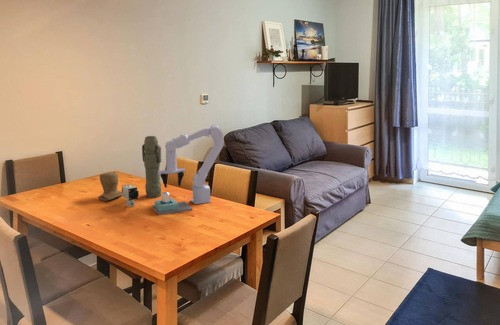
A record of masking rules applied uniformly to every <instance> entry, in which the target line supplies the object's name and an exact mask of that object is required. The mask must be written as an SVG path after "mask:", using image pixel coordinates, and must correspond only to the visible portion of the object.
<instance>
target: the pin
mask: <svg viewBox="0 0 500 325" xmlns="http://www.w3.org/2000/svg"><path fill="white" fill-rule="evenodd" d="M170 199H171V194H170V192H169V191H164V192H161V200H162V204H170Z"/></svg>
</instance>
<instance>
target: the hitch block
mask: <svg viewBox="0 0 500 325" xmlns="http://www.w3.org/2000/svg"><path fill="white" fill-rule="evenodd" d="M151 207H152V208H153V210H154V211H155V213H156V214H157V216H160V215H169V214H176V213H184V212H190V211H193V207H191V206H190V205H189V203H188V202H186V201H185V200H183V201H176V200H175V199H174V198H170V204H162V199H158V200H154V204H152V206H151Z"/></svg>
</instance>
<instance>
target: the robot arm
mask: <svg viewBox="0 0 500 325" xmlns="http://www.w3.org/2000/svg"><path fill="white" fill-rule="evenodd" d="M201 137H208V138H209V137H211V139H212V140H213V142H214V144H213V146H212V148H210V151H209V152H208V155H207V156H206V158H205V160H204V162H203V163H202V165H201V167H200V168H199V169H198V171H197V172H196V173H194V174H193V176H192V180H193V182H192V183H193V184H192V198H191V199H190V201H191V202H192V203H193V204H194V205H198V204H207V203H211V202H212V201H211V188H210V185H209V184H207V185H206V179H207V176H208V174H209V171H210V170H211V168H212V167H213V165H214V163H215V161H216V159H217V158H218V156H219V154H220V153H221V151H222V149H223V147H224V146H225V145H224V144H225V143H224V134H223V131H222V129H221V128H220V125H217V124H213V125H209V126H206V127H203V128H202V129H199V130H197V131H195V132H193V133H191V134H186V133H185V134H184V133H182V134H179V136H177V137H173V138H172V139H169V140H167V141H166V142H165V163H166V164H165V165H166V166H165V167H166V169H162V170H159V171H158V175H160V179H161V180H162V182H163V185H164V188H165V189H166V188H167V175H171V174H177V185H178V187H181V183H182V180H183V178H184V175H185V173H186V169H185V168H178V161H177V160H178V159H177V158H178V157H177V156H178V155H177V149H180V148H183V147H185V146H187V145H189V144H190V142H191V141H194V140H197V139H199V138H201Z"/></svg>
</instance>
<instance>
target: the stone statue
mask: <svg viewBox="0 0 500 325" xmlns="http://www.w3.org/2000/svg"><path fill="white" fill-rule="evenodd" d="M143 142H144V143H143V144H142V146H141V156H142V162H143V163H144V164H143V166H144V168H145V185H144V186H145V187H144V188H145V196H146V198H150V199H151V198H152V199H155V198H159V197H162V184H161V180H160V179H161V176H160V175H158V171H160V168H161V163H162V147H161V146H160V144H159V142H158V138H157V136H155V135H148V136H145V137H144V141H143Z"/></svg>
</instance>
